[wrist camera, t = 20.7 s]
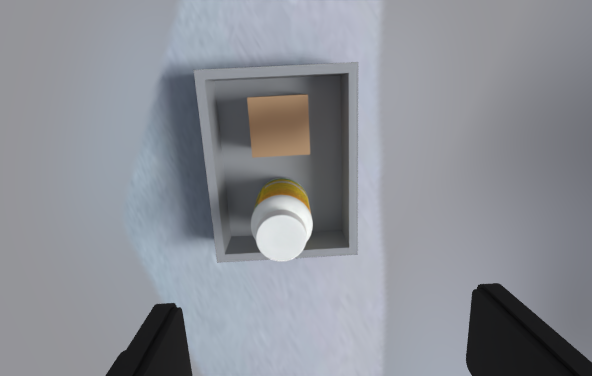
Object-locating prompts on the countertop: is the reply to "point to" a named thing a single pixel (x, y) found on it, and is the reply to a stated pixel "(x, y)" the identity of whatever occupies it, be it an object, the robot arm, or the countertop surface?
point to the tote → (301, 168)
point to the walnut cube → (279, 125)
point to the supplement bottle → (281, 219)
